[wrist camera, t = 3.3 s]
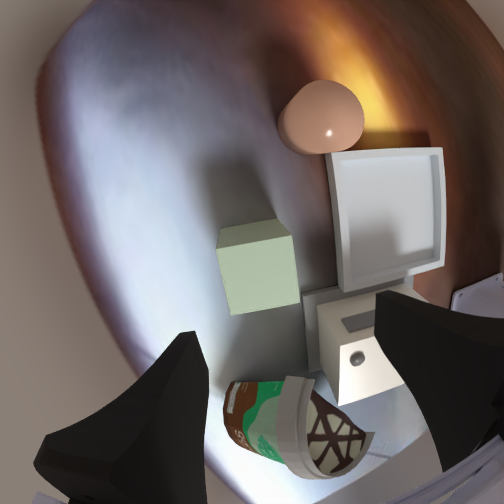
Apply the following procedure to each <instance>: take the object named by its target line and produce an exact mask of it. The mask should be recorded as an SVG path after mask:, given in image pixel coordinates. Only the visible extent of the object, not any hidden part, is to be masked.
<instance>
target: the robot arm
mask: <svg viewBox="0 0 504 504" xmlns="http://www.w3.org/2000/svg"><path fill="white" fill-rule="evenodd" d="M502 279H503V274H502V273H501V272H500V273H498V274H496V275H493V276H491V277H489V278H487V279H484V280H482V281H480V282H477V283H475V284H473V285H470V286H468V287H465V288H463V289H460V290H458V291H456V292H455V293H454V294H453V298H452V304H451V309H450V310H449V309H446V308H443V307H439V306H436V305H433V304H430V303H427V302H424V301H421V300H419V299H416V298H413V297H410V296H407V295H405V294H402V293H399V292H395V291H391V290H386V291H383V292H379V293H376V301H375V323H374V336H375V338H376V340H377V342H378V344H379V346H380V348H381V350H382V351H383V353H384V355H385V356H386V357H387V359H388V360H389V362H390V363H391V364H392V366H393V367H394V368H395V370H396V371H397V373H398V374H399V375H400V377H401V378H402V380H403V381H404V382H405V384H406V385H407V387H408V388H409V389H410V391H411V393H412V394H413V396H414V398H415V400H416V402H417V404H418V406H419V408H420V409H421V411H422V414H423V416H424V418H425V420H426V423H427V425H428V427H429V429H430V432H431V434H432V437H433V440H434V443H435V446H436V449H437V452H438V455H439V459H440V463H441V466H442V471H443V473H442V474H441V475H439V476H437V477H436V478H434V479H432V480H430V481H428V482H426V483H424V484H422V485H420V486H418V487H416V488H414V489H412V490H410V491H408V492H406V493H404V494H402V495H400V496H397V497H395V498H393V499H390V500H388V501H386V502H383V503H381V504H429V503H431V502H433V501H435V500H436V499H438V498H440V497H441V496H443V495H445V494H446V493H448V492H450V491H451V490H453V489H454V488H456V487H457V486H459V485H461V484H462V483H464V482H465V481H466V480H468V479H469V478H470V477H472V476H473V477H472V478H471V479H470V480H469V481H467V482H466V483H465V484H464V485H462V486H461V487H459V488H458V489H457V490H456V491H455V492H454V493H453V494H452V495H451V496H450V497H449V498H448V499H447V500H446V501H444V502H443V503H442V504H504V282H503V281H502ZM208 398H209V370H208V367H207V364H206V362H205V359H204V356H203V353H202V350H201V347H200V344H199V341H198V338H197V335H196V332H195V331H190V332H182V333H179V334H178V335H177V337H176V338H175V339H174V340H173V341H172V342H171V344H170V345H169V346H168V347H167V348H166V350H165V351H164V352H163V353H162V354H161V355H160V357H159V358H158V359H157V360H156V361H155V362H154V364H153V365H152V366H151V367H150V368H149V369H148V370H147V371H146V372H145V373H144V374H143V375H142V376H141V377H140V378H139V379H138V380H137V381H136V382H135V383H134V384H133V385H132V386H131V387H130V388H129V389H127V390H126V391H125V392H124V393H122V394H121V395H120V396H119V397H117V398H116V399H115V400H113V401H112V402H110V403H109V404H107V405H106V406H105V407H103V408H102V409H100V410H99V411H97V412H96V413H94V414H92V415H90V416H89V417H87V418H85V419H83V420H81V421H79V422H77V423H75V424H73V425H71V426H69V427H66V428H64V429H61V430H59V431H56V432H54V433H51V434H48V435H46V436H45V438H44V440H43V442H42V445H41V447H40V449H39V451H38V453H37V456H36V458H35V460H34V462H33V464H34V467H35V469H36V471H37V472H38V473H39V474H40V475H41V476H42V477H43V478H44V479H45V480H46V481H48V482H49V483H50V484H51V485H53V486H54V487H55V488H57V489H58V490H59V491H60V492H62V493H63V494H64V495H66V496H67V497H69V498H70V499H69V503H68V504H207V495H206V485H205V469H204V434H205V425H206V416H207V407H208ZM32 504H66V503H64V502H62V501H60V500H58V499H55V498H53V497H50V496H48V495H46V494H43V493H41V492H39V491H37V492H36V493H35V496H34V499H33V501H32Z"/></svg>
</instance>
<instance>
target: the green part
mask: <svg viewBox="0 0 504 504" xmlns="http://www.w3.org/2000/svg"><path fill="white" fill-rule="evenodd" d="M216 253H217V257H218V262H219V266H220V271H221V275H222V280H223V284H224V288H225V293H226V297H227V301H228V305H229V309H230V314H231V315H237V314H243V313H249V312H254V311H260V310H265V309H271V308H276V307H281V306H286V305H291V304H296V303H300V298H299V289H298V280H297V272H296V264H295V256H294V248H293V241H292V235H291V234H290V233H289V231H288V230H287V229H286V228H285V227H284V225H283V224H282V223H281V222H280V221H279V219H278V218H276V219H270V220H264V221H259V222H253V223H248V224H242V225H237V226H232V227H226V228H221V229H220V232H219V236H218V241H217V246H216Z"/></svg>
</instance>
